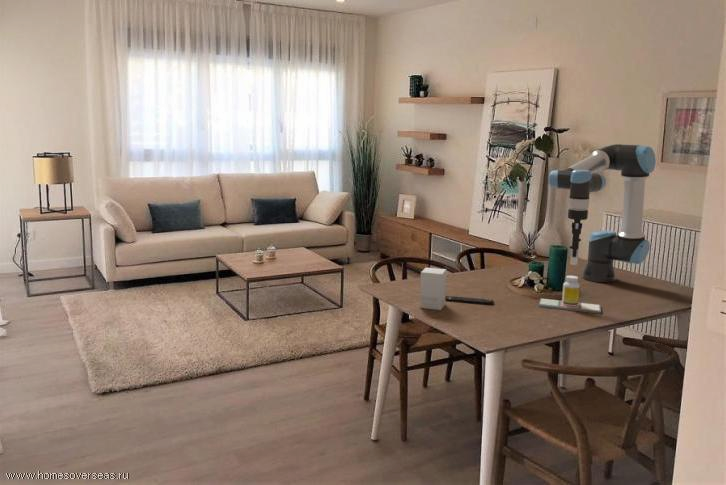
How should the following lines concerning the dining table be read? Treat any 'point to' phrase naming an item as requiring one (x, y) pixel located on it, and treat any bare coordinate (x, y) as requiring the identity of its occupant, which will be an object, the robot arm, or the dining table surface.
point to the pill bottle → (571, 291)
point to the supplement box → (433, 288)
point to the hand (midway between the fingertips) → (573, 260)
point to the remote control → (469, 300)
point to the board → (580, 307)
